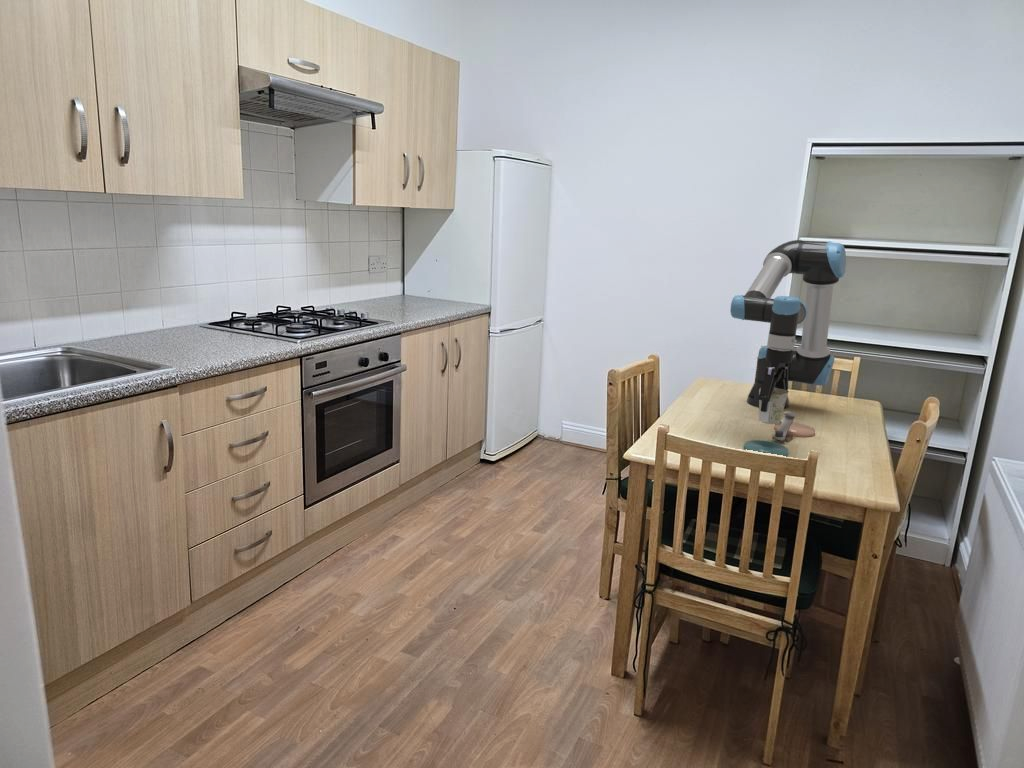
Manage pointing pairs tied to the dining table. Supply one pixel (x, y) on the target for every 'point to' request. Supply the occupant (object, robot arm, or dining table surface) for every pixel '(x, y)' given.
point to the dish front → (766, 447)
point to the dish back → (798, 430)
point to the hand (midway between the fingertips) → (770, 417)
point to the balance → (785, 427)
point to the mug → (776, 405)
